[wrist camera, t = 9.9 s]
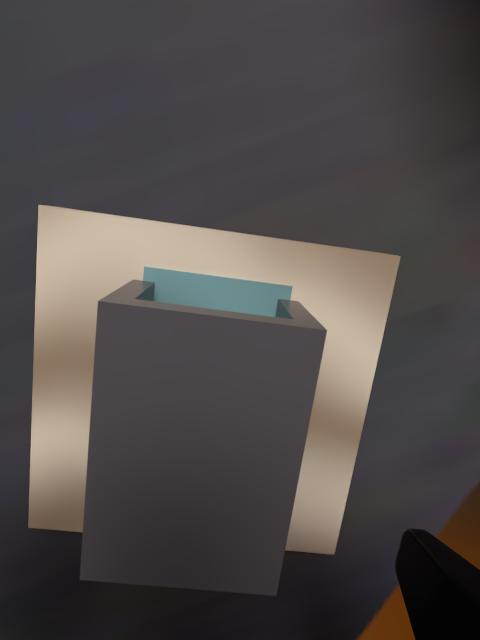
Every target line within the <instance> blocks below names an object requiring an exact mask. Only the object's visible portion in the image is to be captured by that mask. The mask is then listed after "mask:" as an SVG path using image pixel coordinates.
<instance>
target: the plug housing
mask: <svg viewBox="0 0 480 640" xmlns="http://www.w3.org/2000/svg"><path fill="white" fill-rule="evenodd" d="M154 283H155V282H149V281H141V280H132V281H130V282H128V283H127V284H125V285H123V286H122V287H120V288H119V289H117V290H115V291H114V292H112V293H110V294H109V295H107V296H105V297H104V298H102V299H100V300H99V301H98V307H97V323H96V338H95V353H94V368H93V383H92V399H91V414H90V429H89V444H88V459H87V475H86V490H85V505H84V520H83V535H82V551H81V566H80V580H85V581H98V582H110V583H122V584H135V585H147V586H159V587H171V588H184V589H196V590H208V591H221V592H233V593H245V594H258V595H270V596H276V595H277V590H278V584H279V579H280V574H281V569H282V564H283V558H284V553H285V548H286V543H287V537H288V532H289V527H290V522H291V517H292V511H293V506H294V501H295V496H296V491H297V485H298V480H299V475H300V470H301V464H302V459H303V454H304V449H305V444H306V438H307V433H308V428H309V423H310V417H311V412H312V407H313V402H314V397H315V391H316V386H317V381H318V376H319V370H320V365H321V360H322V355H323V350H324V344H325V339H326V334H327V330H326V329H325V328H324V327H323V326H322V325H321V324H320V323H319V322H318V321H317V320H316V318H315V317H314V316H313V315H312V314H311V313H310V312H309V311H308V310H307V309H306V308H305V307H304V306H303V305H302V304H301V303H300V302H299V301H292V300H285V299H278V304H277V310H276V316H275V317H270V316H263V315H255V314H247V313H239V312H232V311H224V310H216V309H208V308H201V307H193V306H185V305H177V304H170V303H162V302H154V301H153V293H154Z"/></svg>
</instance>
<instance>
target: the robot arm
mask: <svg viewBox="0 0 480 640" xmlns="http://www.w3.org/2000/svg"><path fill="white" fill-rule="evenodd" d="M395 568H396V574H397V578H398V581H399V584H400V588H401V591H402V595H403V598H404V602H405V605H406V608H407V612H408V615H409V619H410V622H411V626H412V629H413V632H414V636H415V639H416V640H480V570H479V569H477V568H476V567H475V566H474V565H472V564H471V563H469V562H468V561H467V560H465V559H464V558H463V557H461V556H460V555H459V554H457V553H456V552H455V551H453V550H452V549H450V548H449V547H448V546H446V545H445V544H444V543H442V542H441V541H440V540H438V539H437V538H435V537H434V536H433V535H431V534H430V533H429V532H427V531H425V530H421V529H410V528H408V529H406V530H405V531H404V532H403V534H402V538H401V542H400V546H399V549H398V553H397V557H396V563H395Z"/></svg>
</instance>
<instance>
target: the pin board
mask: <svg viewBox="0 0 480 640" xmlns="http://www.w3.org/2000/svg"><path fill="white" fill-rule="evenodd" d="M400 257H401V256H397V255H391V254H386V253H379V252H372V251H365V250H358V249H351V248H344V247H337V246H329V245H322V244H315V243H308V242H301V241H294V240H287V239H280V238H273V237H266V236H259V235H252V234H245V233H238V232H231V231H224V230H217V229H210V228H202V227H195V226H188V225H181V224H174V223H167V222H160V221H153V220H146V219H139V218H132V217H125V216H118V215H111V214H104V213H97V212H90V211H83V210H75V209H68V208H61V207H54V206H44V205H39V206H38V237H37V269H36V301H35V332H34V364H33V396H32V427H31V459H30V491H29V522H28V528H39V529H50V530H62V531H73V532H83V520H84V505H85V490H86V475H87V459H88V444H89V429H90V414H91V399H92V383H93V368H94V353H95V338H96V323H97V307H98V301H99V300H100V299H102V298H104V297H105V296H107V295H109V294H110V293H112V292H114V291H115V290H117V289H119V288H120V287H122V286H123V285H125V284H127V283H128V282H130V281H132V280H141V281H149V282H155V283H154V293H153V301H154V302H162V303H170V304H177V305H185V306H193V307H201V308H208V309H216V310H224V311H232V312H239V313H247V314H255V315H263V316H270V317H275V316H276V310H277V304H278V299H285V300H292V301H299V302H300V303H301V304H302V305H303V306H304V307H305V308H306V309H307V310H308V311H309V312H310V313H311V314H312V315H313V316H314V317H315V318H316V320H317V321H318V322H319V323H320V324H321V325H322V326H323V327H324V328H325V329H326V330H327V334H326V339H325V344H324V350H323V355H322V360H321V365H320V370H319V376H318V381H317V386H316V391H315V397H314V402H313V407H312V412H311V417H310V423H309V428H308V433H307V438H306V444H305V449H304V454H303V459H302V464H301V470H300V475H299V480H298V485H297V491H296V496H295V501H294V506H293V511H292V517H291V522H290V527H289V532H288V537H287V543H286V548H285V550H288V551H299V552H310V553H321V554H333V555H334V554H335V550H336V545H337V541H338V536H339V532H340V527H341V523H342V518H343V514H344V509H345V505H346V500H347V496H348V491H349V486H350V482H351V477H352V473H353V468H354V464H355V459H356V455H357V450H358V446H359V441H360V437H361V432H362V428H363V423H364V419H365V414H366V410H367V405H368V401H369V396H370V392H371V387H372V383H373V378H374V374H375V369H376V365H377V360H378V356H379V351H380V347H381V342H382V338H383V333H384V329H385V324H386V320H387V315H388V311H389V306H390V302H391V297H392V293H393V288H394V284H395V279H396V275H397V270H398V266H399V261H400Z"/></svg>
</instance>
